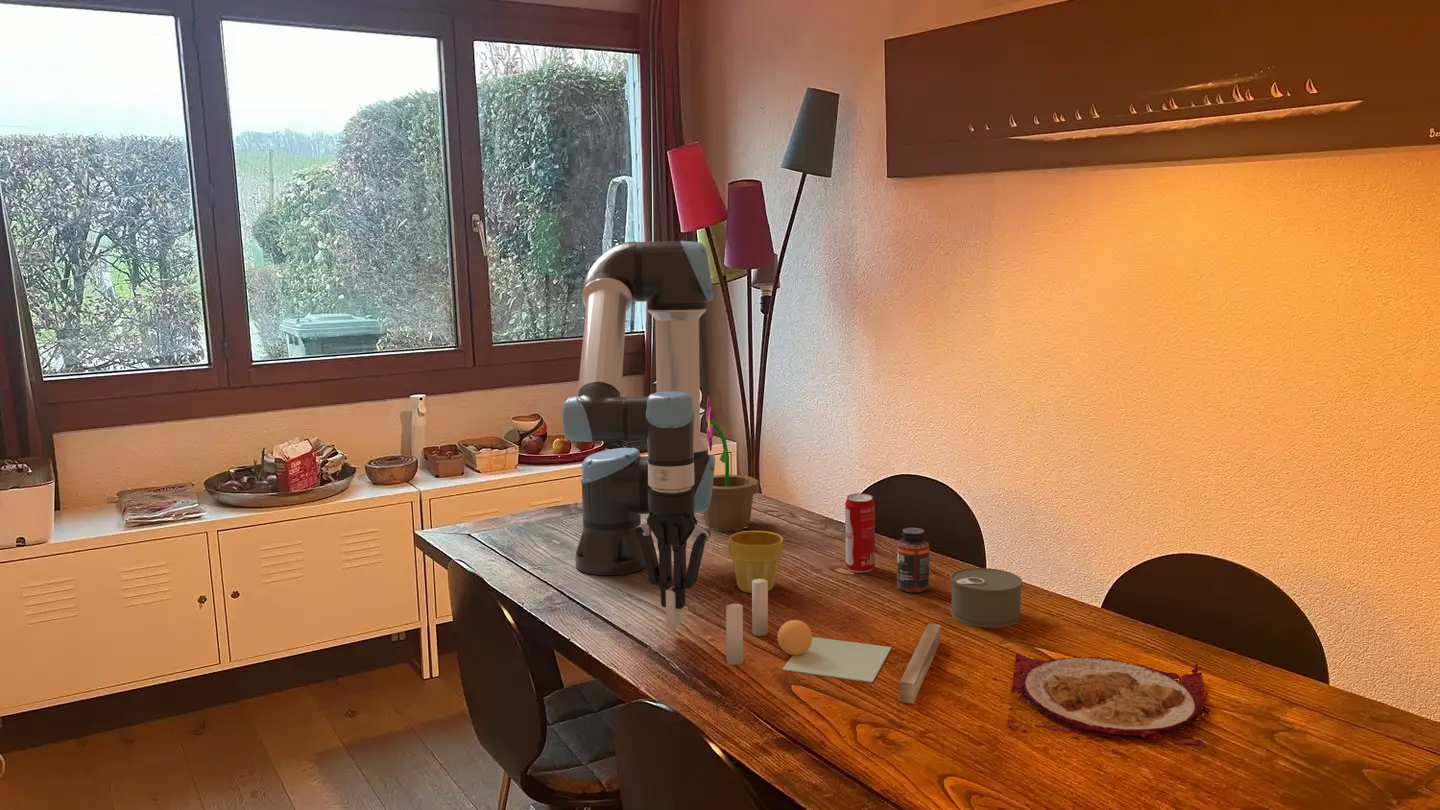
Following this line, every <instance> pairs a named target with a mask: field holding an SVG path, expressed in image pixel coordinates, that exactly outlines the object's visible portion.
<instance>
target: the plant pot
mask: <svg viewBox="0 0 1440 810" xmlns="http://www.w3.org/2000/svg"><path fill="white" fill-rule="evenodd" d="M727 544H728V555H729V557H730V558H731V559H732V564H733V569H734V574H735V579H736V583H737V584H736V585H737V588H738V589H739V590H740V591H742V592H744V593H749V594H752V581H753V580H755V579H765V580H767V581H768V592H769V591H772V590H773V588H774V585H775V579H776V576H777V571H778V566H779V563H780V562H779V561H780V559H781V558H782V557H783V554H784V538H783V536H782V535H780V534H778V533H775V532H772V531H766V530H745V531H744V530H743V531H739V532H735V533H731V534H730V536H729V537H728V543H727Z"/></svg>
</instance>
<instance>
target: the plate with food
mask: <svg viewBox="0 0 1440 810" xmlns="http://www.w3.org/2000/svg"><path fill="white" fill-rule="evenodd" d="M1193 667H1194V668H1192V669H1191V673H1188V672H1185V673H1184V674H1182V675H1181V676H1180V675H1179V674H1178V673H1176V672H1167V671H1163V670H1158V669H1155V668H1152V667H1149V666H1146V665H1145V664H1135V663H1129V662H1126V661H1124V660H1119V659H1114V658H1113V659H1112V658H1109V657H1108V658H1105V657H1104V658H1103V657H1102V656H1101V657H1100V656H1087V657H1085V656H1083V657H1082V656H1074V657H1068V658H1066V657H1065V658H1064V657H1062V658H1056V659H1051V658H1050V659H1049V660H1044V659H1038V658H1037V659H1036V658H1031V657H1030V658H1029V657H1027V656H1022V655H1021V653H1015V660H1014V668H1013V670H1014V671H1013V677H1012V684H1011V685H1012V686H1011V693H1012V692H1016V693H1019V694H1021V695H1020V696H1018V697H1017V698H1016V699H1015V701H1016V702H1017V703H1018V701H1020V702H1021V703H1023V705H1024V706H1027V704H1028V701H1029V703H1030V704H1031V705H1033V706H1034V707H1035V708H1036V709H1037V710H1038V712H1040V713H1041V714H1043V715H1044V716H1045V717H1047V719H1048V720H1050V721H1051V722H1055V723H1058V724H1060V725H1062V726H1065V727H1067V728H1069V729H1068V730H1067V729H1063V728H1060V727H1059V726H1056V725H1053V724H1048V723H1043V724H1040V723H1039V724H1038V722H1037V721H1035V724H1034V727H1036V728H1043V729H1046V730H1049V731H1052V732H1063V733H1067V734H1070V733H1074V734H1075V735H1076V734H1078V735H1083V736H1084V737H1085V738H1086V739H1088V740H1093V741H1095V742H1100V743H1105V738H1106V739H1109V738H1113V739H1115V738H1117V739H1119V738H1122V739H1131V740H1132V739H1144V740H1145V739H1146V740H1157V739H1161V740H1162V739H1163V738H1164V737H1165V738H1170V736H1171V737H1172V738H1177V737H1180V736H1181V738H1184V737H1185V738H1190V737H1191V738H1193V735H1194V733H1192V732H1187V730H1188V729H1185V728H1184V726H1185V727H1186V726H1187V725H1188V724H1189V723H1190V722H1191V721H1192V720H1195V719H1198V717H1200V715H1201V713H1203V712H1202V711H1204V710H1205V711H1206V712H1208V713H1209V712H1210V713H1211V708H1210V707H1207V706H1206V705H1205V702H1206V698H1207V696H1209V695H1210V694H1209V693H1208V691H1206V690H1205V686H1204V685H1205V683H1204V681H1203V676H1202V675H1203V673H1202V672H1199V663H1198V662H1197V663H1195V664H1194V665H1193ZM1023 673H1024V674H1023ZM1178 678H1179V682H1178V680H1174V679H1178ZM1181 678H1182V679H1181ZM1204 693H1205V694H1204ZM1204 697H1205V698H1204ZM1031 705H1030V709H1031V710H1034V709H1035V708H1034V707H1033V706H1031ZM1202 708H1203V709H1204V710H1203V709H1202ZM1008 710H1011V711H1012V710H1013V708H1010V707H1009V708H1008ZM1205 711H1204V712H1205ZM1206 712H1205V713H1206ZM1014 714H1017V713H1016V712H1014ZM1008 716H1009V717H1011V718H1009V719H1007V722H1006V724H1007V725H1008V727H1010V728H1012V729H1013V730H1015V731H1016V732H1017V731H1018V729H1019V726H1020V727H1023V726H1022V724H1020V725H1019V726H1017V725H1013V724H1016V723H1018V721H1015V717H1014V716H1012V715H1009V714H1008ZM1193 718H1195V719H1193ZM1188 722H1189V723H1188ZM1187 723H1188V724H1187ZM1191 725H1192V727H1191V729H1192V728H1194V724H1193V723H1192V724H1191ZM1182 728H1184V729H1182ZM1180 729H1182V731H1184V732H1181V730H1180ZM1177 731H1178V732H1177ZM1021 732H1025V733H1026V732H1028V730H1027V728H1024V729H1022V730H1021ZM1175 732H1176V733H1175ZM1173 733H1174V734H1173ZM1177 733H1178V734H1177ZM1169 734H1171V735H1169ZM1086 735H1087V736H1086ZM1097 736H1098V737H1100V736H1101V737H1100V738H1099V739H1098V738H1096V737H1097ZM1176 736H1177V737H1176ZM1073 739H1078V740H1080V737H1079V738H1078V737H1075V736H1074V737H1073ZM1134 743H1135V742H1134ZM1185 744H1193V745H1195V747H1196V748H1197V747H1202V748H1203V749H1206V748H1207V746H1206V744H1205V743H1204V741H1202V740H1201V739H1199V738H1197V739H1196V740H1181V741H1180V740H1175V741H1174V742H1173V743H1172V745H1174V746H1181V747H1182V748H1184V749H1190V747H1188V746H1187V745H1185ZM1151 745H1152V746H1155V744H1154V743H1151ZM1159 746H1161V747H1164V746H1165V744H1163V743H1160V744H1159ZM1154 750H1157V748H1156V747H1154Z"/></svg>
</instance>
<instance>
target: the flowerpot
mask: <svg viewBox="0 0 1440 810" xmlns="http://www.w3.org/2000/svg"><path fill="white" fill-rule="evenodd" d="M710 397H711V396H710V395H708V396H707V401H706V408H707V409H706V410H705V411H706V413H705V414H706V416H705V419H706V423H707V425H708V426H707V427H706V437H707V438H706V439H707V442H708V450H709V452H712V448H713V438H714V429H715V430H716V432H717V435H718V436H719V437H720V440H721V444H722V448H723V451H722V453H721V455H720V458H719V461H720V462H722V463H724V465H725V466H724V468H725V469H724V472H725V473H724V474H717V475H716V474H714V478H713V487H712V495H711V501H710V506H709V508H708V509H707V510H706V511H705V512H703V518H704V524H705V525H707V526H708V527H709V528H714V529H718V530H736V529H742V530H744V529H743V528H744V527H747V526H749V527H750V525H749V524H750V523H751V518H752V517H751V515H752V510H753V501H754V495H755V494H757V493H758V491H759V480H758V479H756V478H755V477H753V476H748V475H742V474H730V455H729V454H730V453H729V450H728V444H727V441H726V440H727V439H726V437H725V435H724V433H723V431H722V429H721V428H720V425H718V424H717V422H716V421H715V420H714V419H713V418H714V417H713V406H712V402H711V398H710ZM708 527H707V528H708ZM709 528H708V529H709ZM736 531H737V530H736Z"/></svg>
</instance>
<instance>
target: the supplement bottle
mask: <svg viewBox="0 0 1440 810" xmlns="http://www.w3.org/2000/svg"><path fill="white" fill-rule="evenodd" d="M896 550H897V553H896V554H897V556H896V557H897V558H896V568H897V569H896V582H897V583H896V586H897V589H899V590H900V591H903V592H906V593H914V594H915V593H922V592H925V591H927V590H928V589H929V587H930V544H929V542H928V541H927V540H925V530H924V529H923V528H919V527H906V528H904V529H902V538H901V539H900V540H899V541H898V542H897V549H896Z"/></svg>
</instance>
